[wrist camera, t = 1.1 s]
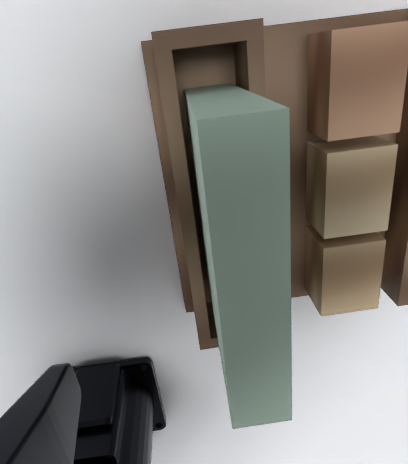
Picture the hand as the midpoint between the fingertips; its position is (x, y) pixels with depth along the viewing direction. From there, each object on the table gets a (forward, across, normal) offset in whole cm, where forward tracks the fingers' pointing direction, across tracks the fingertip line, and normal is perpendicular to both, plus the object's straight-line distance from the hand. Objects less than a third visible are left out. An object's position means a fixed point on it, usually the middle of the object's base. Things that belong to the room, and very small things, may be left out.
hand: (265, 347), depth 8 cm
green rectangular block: (+11, 0, 0) cm, 11 cm away
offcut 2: (+11, -6, 0) cm, 12 cm away
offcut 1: (+11, -6, -5) cm, 13 cm away
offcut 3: (+11, -6, +4) cm, 13 cm away
